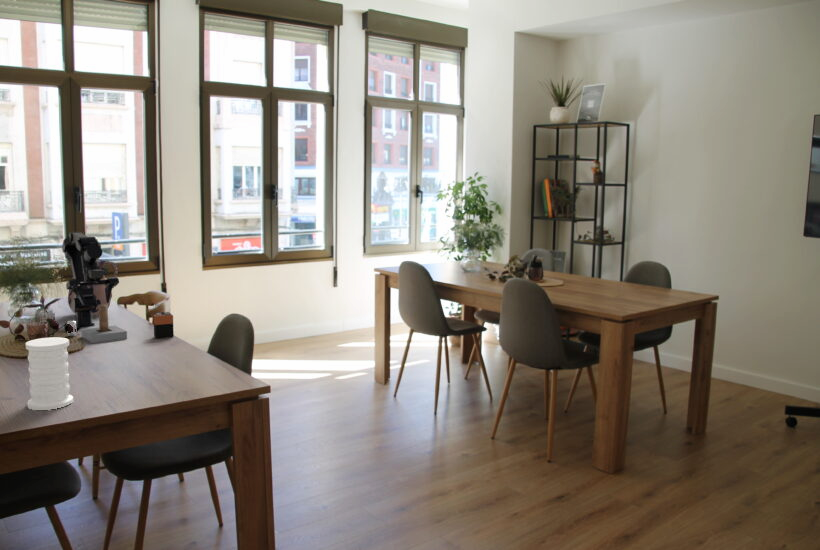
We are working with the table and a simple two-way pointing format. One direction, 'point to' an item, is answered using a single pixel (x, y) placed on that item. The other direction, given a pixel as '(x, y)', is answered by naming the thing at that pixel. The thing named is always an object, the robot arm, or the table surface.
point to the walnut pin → (103, 318)
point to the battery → (163, 325)
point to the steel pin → (73, 324)
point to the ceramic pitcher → (97, 289)
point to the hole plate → (104, 334)
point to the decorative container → (48, 373)
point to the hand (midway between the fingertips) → (95, 303)
